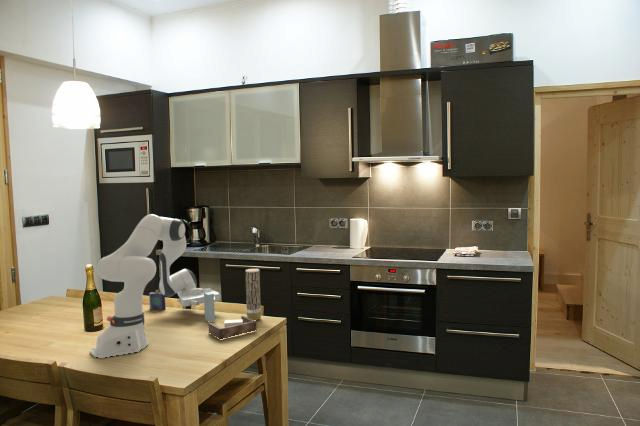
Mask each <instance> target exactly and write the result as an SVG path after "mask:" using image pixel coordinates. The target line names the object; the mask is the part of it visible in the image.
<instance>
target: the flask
mask: <svg viewBox="0 0 640 426" xmlns="http://www.w3.org/2000/svg"><path fill="white" fill-rule="evenodd" d="M148 296H149V298H148V299H149V310H156V311H157V310H158V311H165V310H166V296H164V295H163V294H162V293H161V291H160V290H159V289H155V292H149V293H148Z"/></svg>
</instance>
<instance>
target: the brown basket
mask: <svg viewBox="0 0 640 426" xmlns="http://www.w3.org/2000/svg"><path fill="white" fill-rule="evenodd" d="M240 319H243V324H238V325H234V326H229V327H220V326H217V324H214V323H213V322H212V323H208V322H207V323H208V324H207V325H208V334H209V333H211V334H212V335H214V336H216V337H218V338H219V339H223V338H228V337H231V336H235V335H239V334H242V333H247V332H251V331H255V330H257V321H254V320H252V319H250V318H248V317H247V316H245V315H241V316H240ZM212 335H211V336H212ZM219 339H218V340H219Z"/></svg>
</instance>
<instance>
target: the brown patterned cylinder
mask: <svg viewBox="0 0 640 426" xmlns="http://www.w3.org/2000/svg"><path fill="white" fill-rule="evenodd" d="M260 275H261V274H260V269H259V268H248V269H247V268H246V269H245V292H246V293H245V294H246V317H248V318H250V319H252V320H258V319H260V318H261V319H262V316H261V315H262V314H261V308H262V307H261V280H260V278H261V276H260ZM261 319H260V320H261ZM258 321H259V320H258Z"/></svg>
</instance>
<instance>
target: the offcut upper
mask: <svg viewBox="0 0 640 426" xmlns="http://www.w3.org/2000/svg"><path fill="white" fill-rule="evenodd" d="M238 324H243V319H241V318H240V319H225V320H224V323H223V326H224V327H223V328H225V327H229V326H234V325H238Z"/></svg>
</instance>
